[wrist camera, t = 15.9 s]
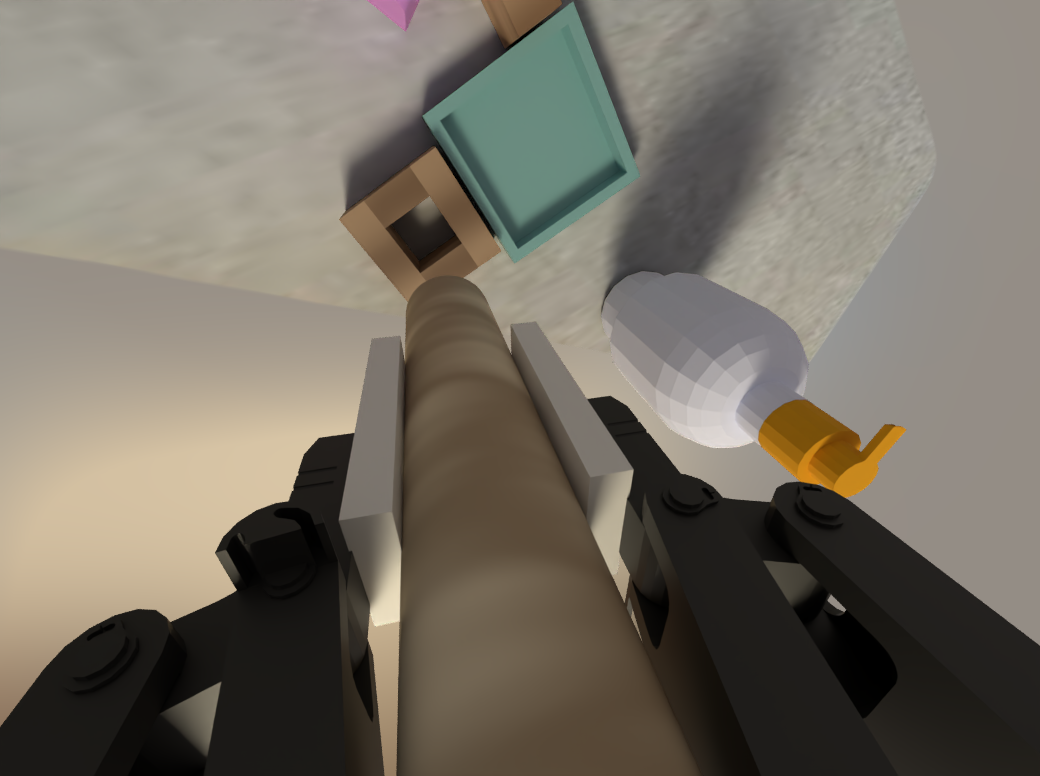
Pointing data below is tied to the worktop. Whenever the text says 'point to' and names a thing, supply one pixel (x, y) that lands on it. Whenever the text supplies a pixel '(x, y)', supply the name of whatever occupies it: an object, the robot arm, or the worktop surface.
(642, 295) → the soap bottle
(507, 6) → the block
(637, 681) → the dowel
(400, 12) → the bracket
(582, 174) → the tray
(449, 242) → the socket block
